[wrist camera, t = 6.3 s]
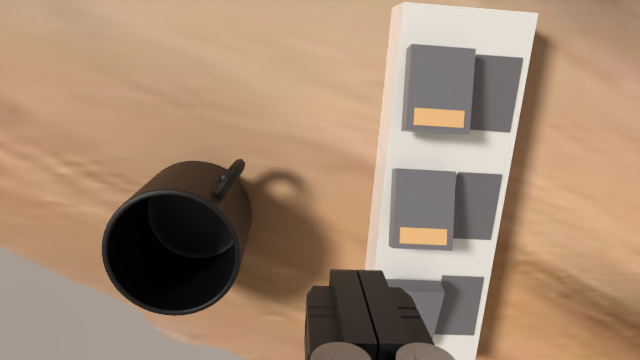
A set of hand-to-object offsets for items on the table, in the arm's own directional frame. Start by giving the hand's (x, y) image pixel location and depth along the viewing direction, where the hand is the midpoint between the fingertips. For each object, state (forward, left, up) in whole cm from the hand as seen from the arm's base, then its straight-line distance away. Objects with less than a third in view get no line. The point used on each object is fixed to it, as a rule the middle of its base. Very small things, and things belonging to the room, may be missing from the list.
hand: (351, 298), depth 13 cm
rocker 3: (+13, +8, -21) cm, 26 cm away
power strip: (+4, +11, -27) cm, 29 cm away
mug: (+6, -9, -27) cm, 29 cm away
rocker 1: (-5, +8, -21) cm, 23 cm away
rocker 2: (+4, +8, -21) cm, 23 cm away
